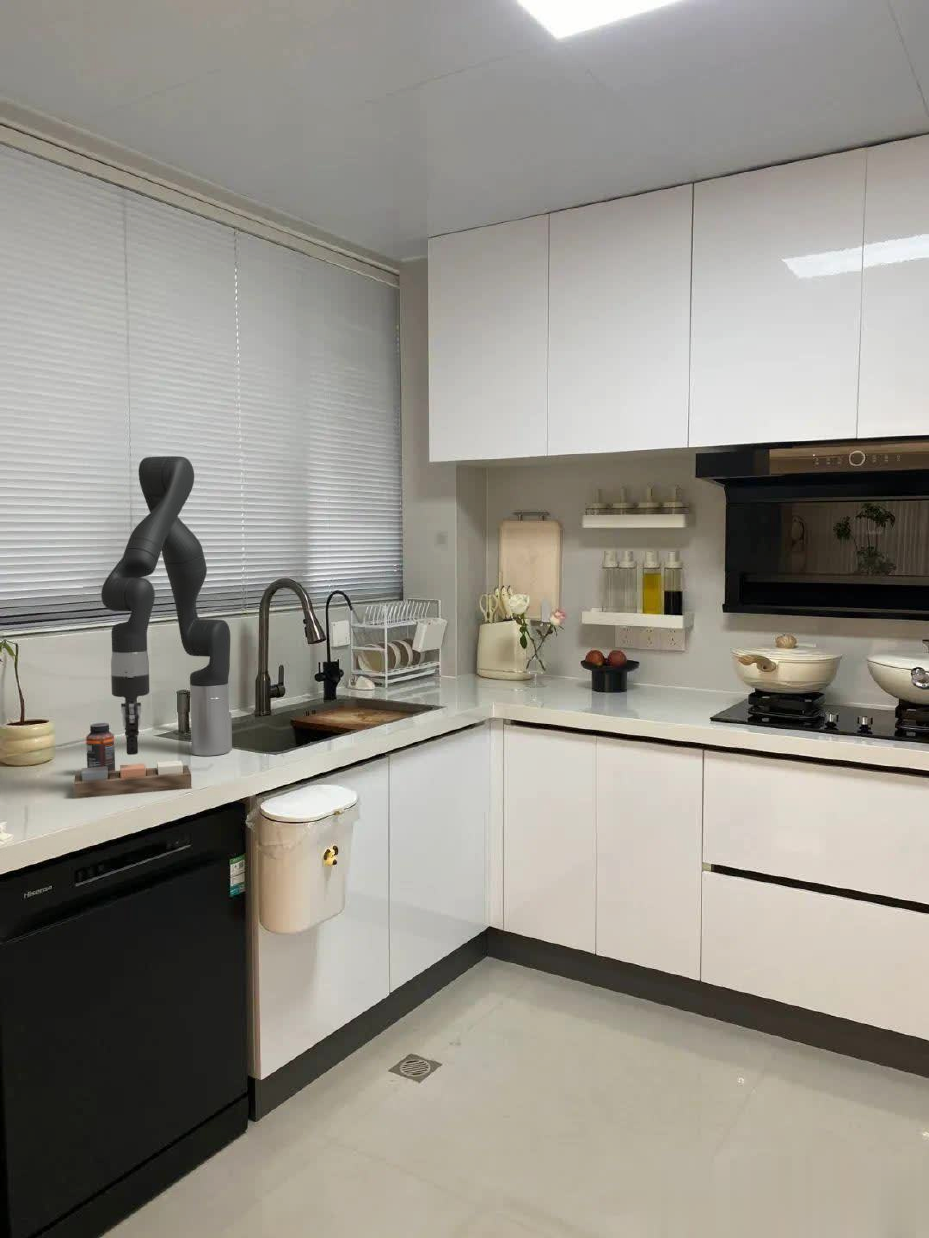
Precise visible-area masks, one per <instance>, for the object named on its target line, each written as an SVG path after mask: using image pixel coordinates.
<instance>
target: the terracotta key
mask: <svg viewBox="0 0 929 1238" xmlns="http://www.w3.org/2000/svg"><path fill="white" fill-rule="evenodd" d="M119 767H120V768H119V771H120V776H121V778H129V777H141V776H146V763H145V762H144V763H133V764H131V763H130V764H129V763H128V764H120V765H119Z"/></svg>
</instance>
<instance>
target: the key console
mask: <svg viewBox="0 0 929 1238" xmlns="http://www.w3.org/2000/svg"><path fill="white" fill-rule="evenodd" d="M190 787H191V788H192V772H191V769H190V768H189V765H187V764H186V765H185V764H184V765H183V773H178V774H166V775H158V773H157V767H149V768H148V767H147V768H146V776H141V777H129V778H121V776H120V770H115V771H108V779H105V780H93V781H82V773H75V774H74V780H73V793H74V794H73V795H74V797H73V798H74V799H82V798H84V797H85V798H93V797H94V798H95V797H104V796H117V795H130V794H138V793H139V794H140V793H149V792H150V793H151V792H152V791H153V792H162V791H163V792H164V791H175V790H185V788H187V789H191V788H190ZM153 792H152V793H153ZM85 798H84V799H85Z"/></svg>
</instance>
